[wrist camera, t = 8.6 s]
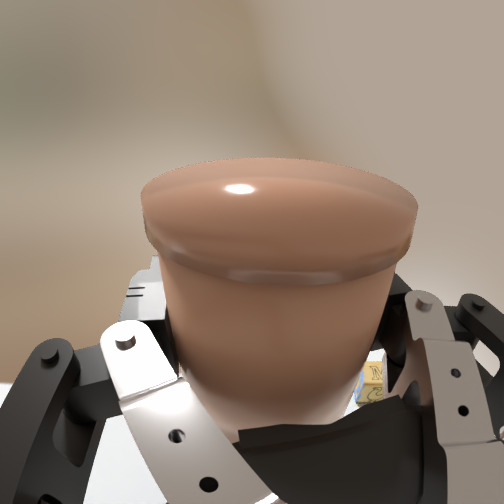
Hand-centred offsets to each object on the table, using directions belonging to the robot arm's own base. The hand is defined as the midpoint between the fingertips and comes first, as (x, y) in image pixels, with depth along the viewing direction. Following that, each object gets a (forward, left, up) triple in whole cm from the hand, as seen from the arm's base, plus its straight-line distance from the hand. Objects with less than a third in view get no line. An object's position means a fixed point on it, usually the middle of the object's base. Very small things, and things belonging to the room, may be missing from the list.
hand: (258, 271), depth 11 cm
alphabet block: (+12, +5, -18) cm, 22 cm away
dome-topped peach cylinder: (0, -3, -6) cm, 7 cm away
